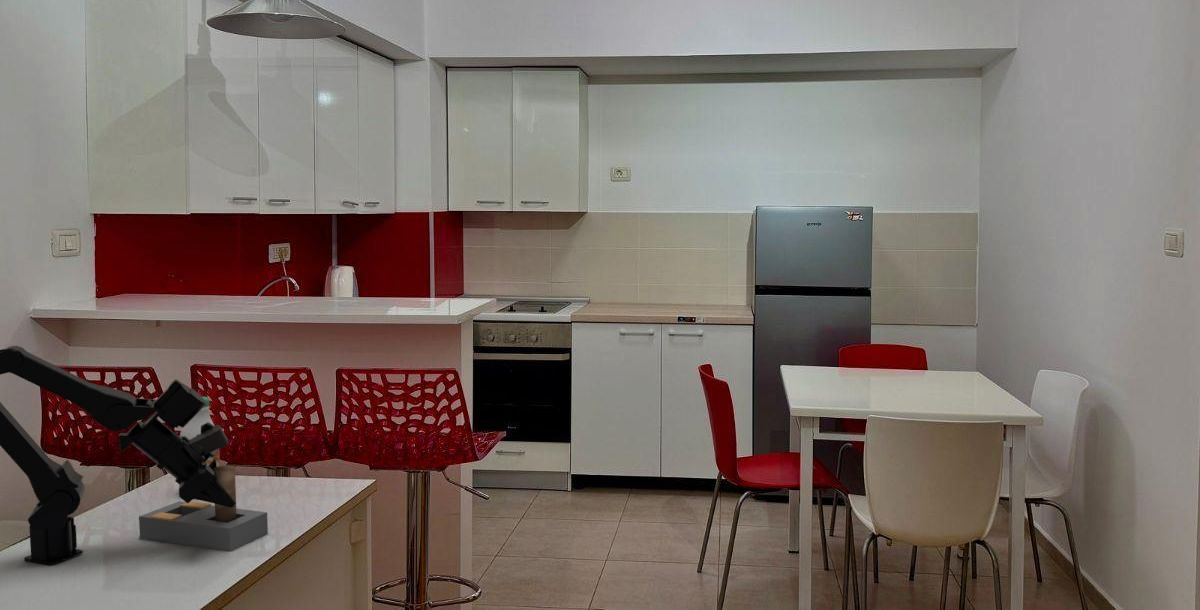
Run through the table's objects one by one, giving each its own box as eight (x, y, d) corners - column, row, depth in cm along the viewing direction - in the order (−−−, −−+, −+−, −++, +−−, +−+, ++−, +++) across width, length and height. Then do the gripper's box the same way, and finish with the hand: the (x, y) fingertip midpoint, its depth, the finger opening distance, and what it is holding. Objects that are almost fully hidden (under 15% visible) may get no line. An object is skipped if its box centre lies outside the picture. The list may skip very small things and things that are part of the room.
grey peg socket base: (267, 533, 187) (267, 510, 186) (230, 551, 178) (229, 527, 177) (180, 521, 194) (179, 499, 193) (139, 538, 184) (138, 514, 184)
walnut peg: (228, 543, 182) (225, 471, 180) (211, 541, 183) (208, 469, 182) (241, 537, 185) (239, 466, 184) (225, 534, 186) (222, 464, 185)
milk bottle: (188, 500, 208) (185, 403, 206) (175, 492, 213) (171, 397, 211) (226, 493, 213) (223, 398, 211) (212, 485, 218) (209, 393, 216)
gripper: (197, 423, 172) (268, 481, 177) (199, 402, 189) (263, 456, 194) (148, 473, 170) (221, 531, 175) (154, 448, 187) (220, 501, 192)
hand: (233, 502), depth 184 cm, fingers closed on walnut peg, 4 cm apart
